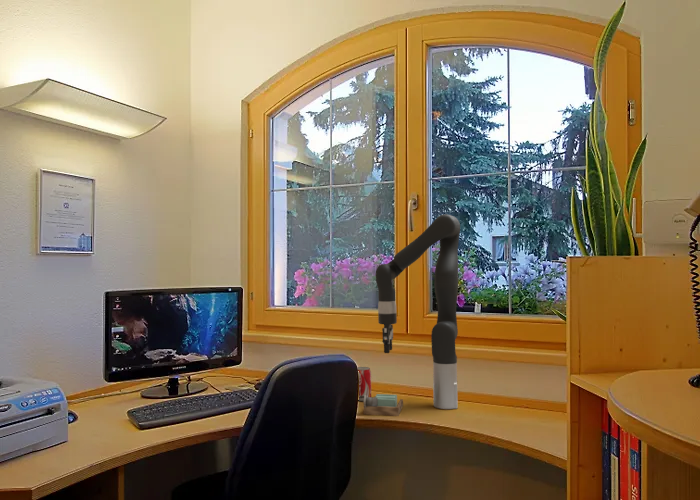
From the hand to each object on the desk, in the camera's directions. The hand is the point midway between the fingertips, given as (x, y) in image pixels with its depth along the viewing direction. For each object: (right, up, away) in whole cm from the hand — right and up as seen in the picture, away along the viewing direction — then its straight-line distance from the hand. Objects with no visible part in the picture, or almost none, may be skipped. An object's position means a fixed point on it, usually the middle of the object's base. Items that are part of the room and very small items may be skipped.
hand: (388, 351), depth 225 cm
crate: (-2, -20, -10) cm, 22 cm away
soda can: (-11, -20, +1) cm, 23 cm away
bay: (-4, -19, -16) cm, 26 cm away
